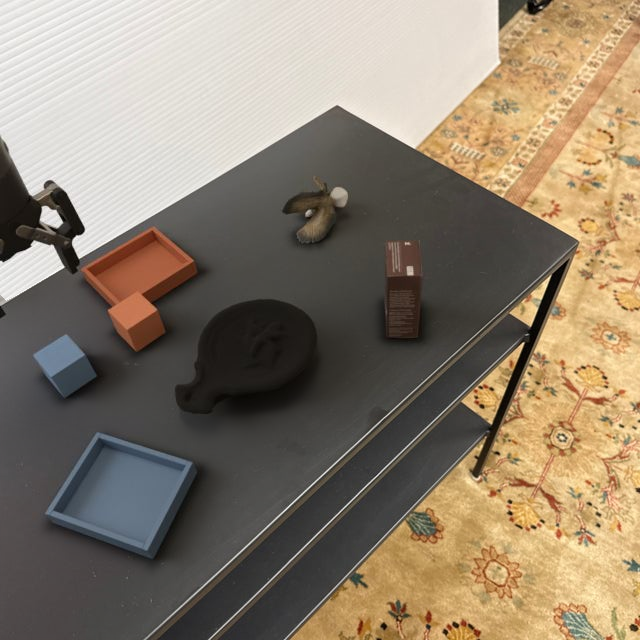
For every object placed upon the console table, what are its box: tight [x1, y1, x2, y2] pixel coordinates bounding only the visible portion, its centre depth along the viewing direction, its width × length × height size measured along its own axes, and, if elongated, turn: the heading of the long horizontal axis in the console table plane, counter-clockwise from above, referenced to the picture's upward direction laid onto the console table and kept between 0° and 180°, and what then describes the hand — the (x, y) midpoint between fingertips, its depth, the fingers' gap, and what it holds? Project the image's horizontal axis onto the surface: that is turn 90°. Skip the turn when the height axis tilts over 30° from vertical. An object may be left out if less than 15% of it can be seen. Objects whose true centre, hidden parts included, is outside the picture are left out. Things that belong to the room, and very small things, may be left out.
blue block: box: [32, 333, 98, 399], centre depth 80 cm, size 5×5×5 cm
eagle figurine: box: [281, 175, 349, 244], centre depth 95 cm, size 8×7×9 cm
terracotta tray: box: [80, 226, 199, 308], centre depth 91 cm, size 12×10×2 cm
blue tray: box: [44, 431, 198, 560], centre depth 70 cm, size 12×10×2 cm
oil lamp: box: [174, 298, 319, 415], centre depth 79 cm, size 15×20×5 cm
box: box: [384, 239, 423, 339], centre depth 80 cm, size 6×4×12 cm
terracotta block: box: [107, 291, 166, 353], centre depth 84 cm, size 5×5×5 cm
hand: (36, 290), depth 69 cm, fingers open, 8 cm apart
